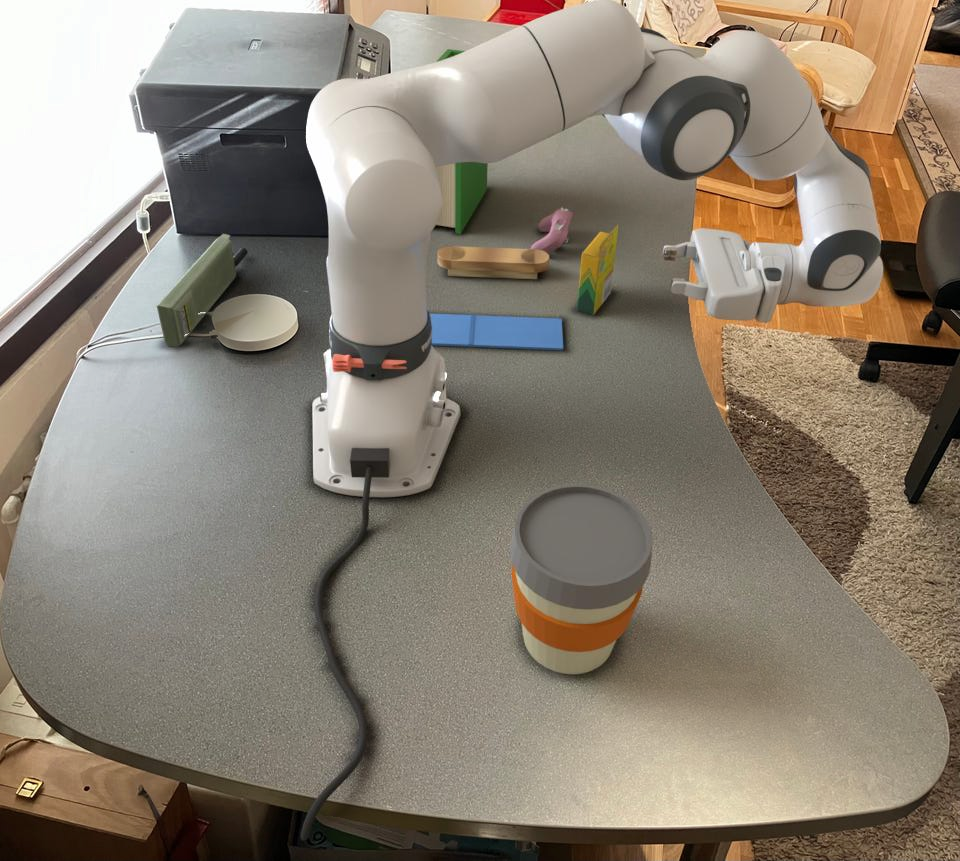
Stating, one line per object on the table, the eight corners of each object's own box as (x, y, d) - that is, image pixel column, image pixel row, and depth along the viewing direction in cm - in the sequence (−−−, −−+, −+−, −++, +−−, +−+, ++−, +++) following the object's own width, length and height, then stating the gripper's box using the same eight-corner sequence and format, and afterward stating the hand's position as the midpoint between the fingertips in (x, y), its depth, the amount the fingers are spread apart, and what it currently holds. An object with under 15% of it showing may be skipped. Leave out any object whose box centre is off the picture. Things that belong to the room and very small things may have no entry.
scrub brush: (547, 266, 139) (549, 249, 137) (548, 281, 136) (549, 264, 134) (438, 262, 139) (438, 245, 137) (436, 276, 136) (436, 259, 134)
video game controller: (551, 268, 142) (573, 235, 137) (527, 254, 141) (549, 221, 136) (559, 239, 149) (581, 207, 144) (536, 225, 148) (557, 193, 144)
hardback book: (460, 234, 147) (461, 90, 131) (418, 227, 148) (414, 84, 132) (486, 189, 160) (490, 53, 144) (448, 184, 161) (447, 49, 145)
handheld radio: (160, 344, 121) (234, 256, 139) (183, 348, 121) (254, 259, 139) (151, 304, 117) (229, 218, 135) (174, 308, 116) (249, 221, 135)
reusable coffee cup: (479, 621, 86) (482, 517, 77) (576, 566, 92) (591, 463, 82) (558, 715, 79) (573, 613, 69) (659, 649, 84) (686, 546, 75)
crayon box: (593, 287, 134) (601, 218, 127) (611, 292, 133) (620, 223, 126) (575, 310, 129) (582, 240, 122) (593, 316, 128) (602, 245, 121)
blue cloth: (563, 350, 122) (563, 347, 121) (420, 345, 122) (420, 342, 122) (561, 320, 127) (561, 318, 127) (425, 315, 128) (425, 312, 127)
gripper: (753, 220, 133) (662, 215, 133) (782, 291, 117) (680, 286, 117) (743, 256, 137) (656, 252, 137) (771, 330, 121) (672, 325, 122)
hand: (667, 268), depth 127 cm, fingers open, 8 cm apart
